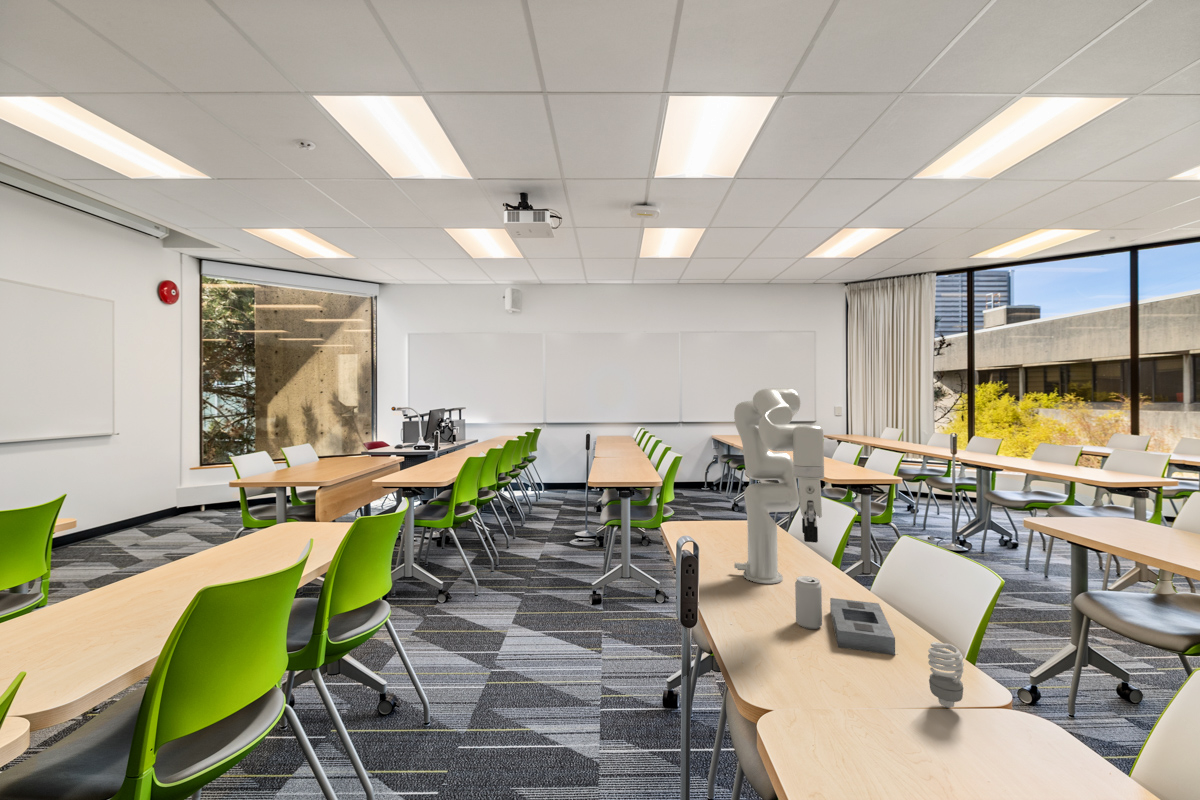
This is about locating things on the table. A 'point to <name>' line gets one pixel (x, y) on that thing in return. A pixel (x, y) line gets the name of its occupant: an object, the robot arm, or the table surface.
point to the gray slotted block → (861, 626)
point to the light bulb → (946, 674)
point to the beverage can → (808, 602)
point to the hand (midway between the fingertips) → (809, 537)
